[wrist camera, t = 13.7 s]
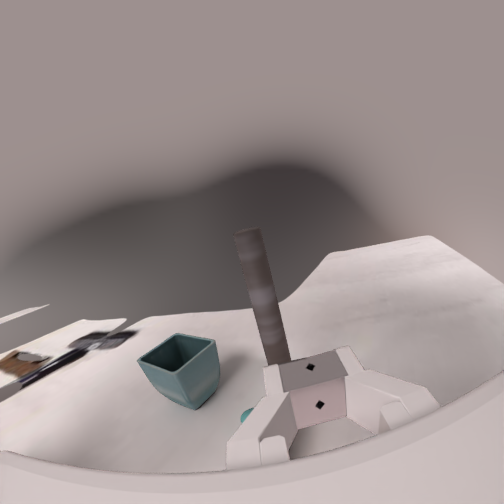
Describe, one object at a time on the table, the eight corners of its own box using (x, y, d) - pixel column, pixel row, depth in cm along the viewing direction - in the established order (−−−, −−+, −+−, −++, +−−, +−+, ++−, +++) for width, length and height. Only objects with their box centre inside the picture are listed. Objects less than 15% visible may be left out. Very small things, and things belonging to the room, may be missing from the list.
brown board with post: (277, 500, 21) (192, 283, 16) (252, 497, 22) (155, 288, 17) (303, 405, 34) (262, 225, 29) (284, 405, 35) (238, 230, 30)
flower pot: (233, 386, 43) (216, 338, 41) (197, 423, 36) (173, 374, 34) (193, 375, 48) (175, 332, 46) (158, 405, 41) (135, 360, 39)
